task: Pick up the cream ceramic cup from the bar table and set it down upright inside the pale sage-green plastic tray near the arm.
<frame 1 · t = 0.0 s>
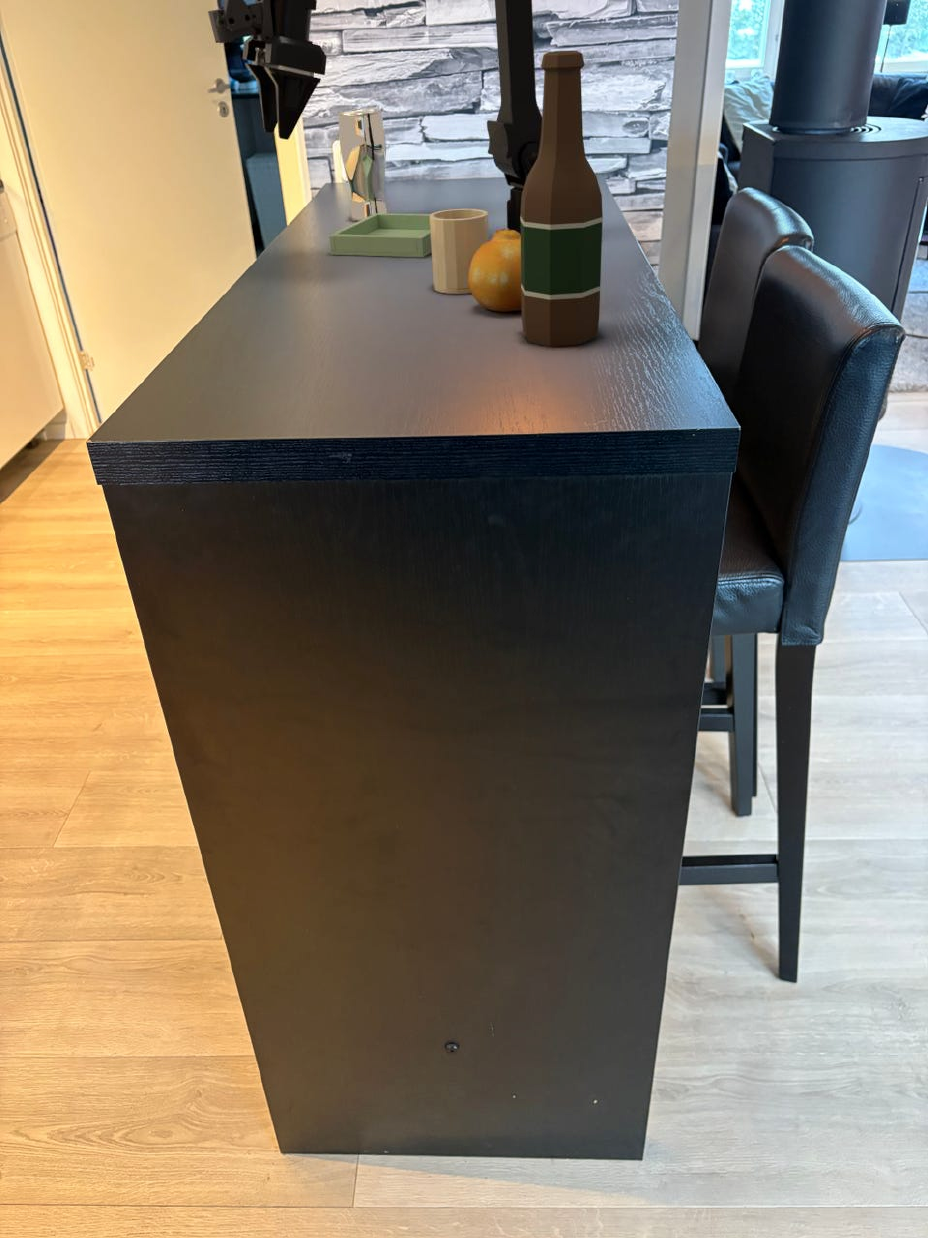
hand: (275, 135, 113), 15 cm above the table, tool pointing down, fingers open, 9 cm apart
cup: (461, 286, 110), on the table
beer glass: (370, 219, 148), on the table
tray: (398, 243, 131), on the table
fruit: (508, 308, 101), on the table
beer bottle: (559, 337, 92), on the table
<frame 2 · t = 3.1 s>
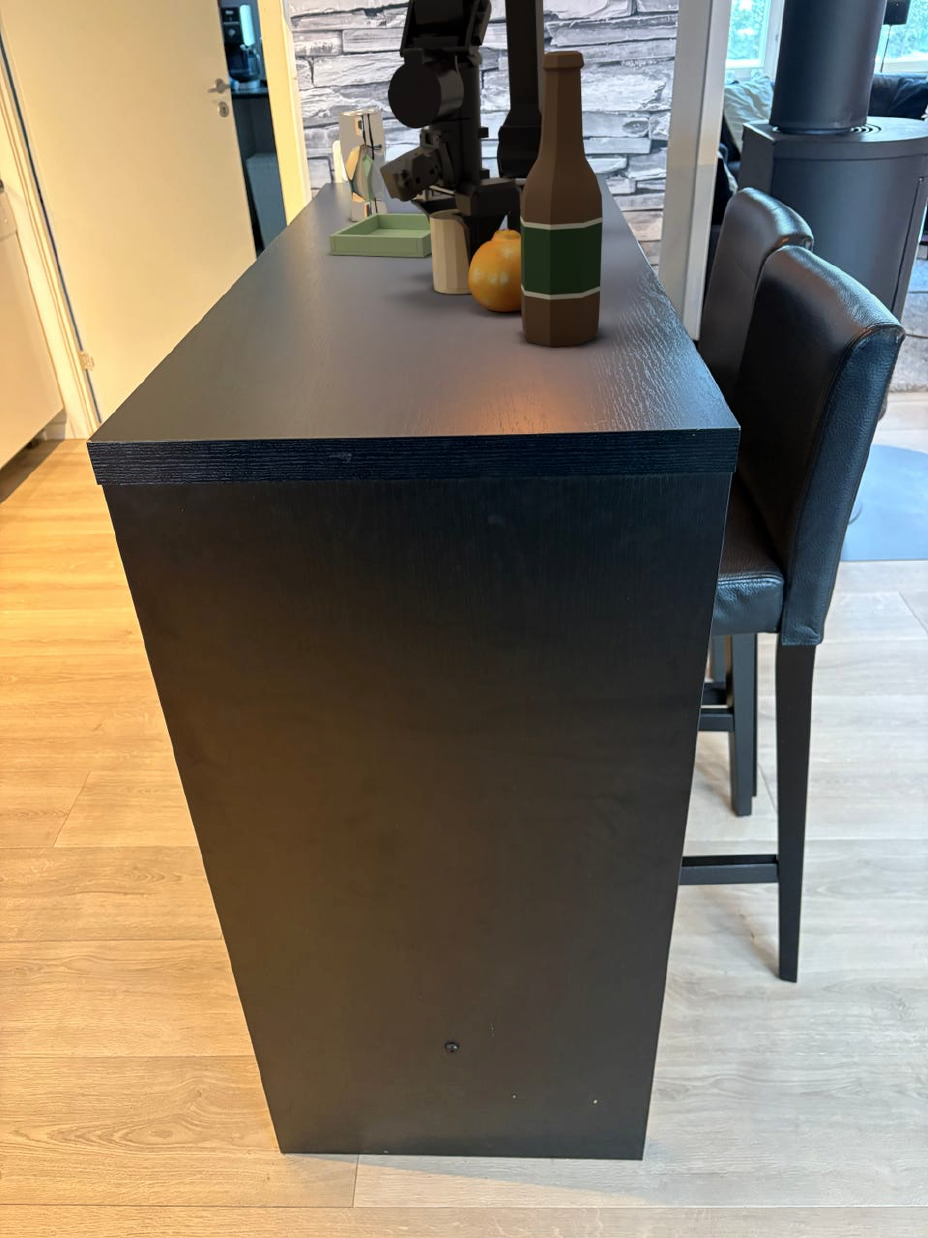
hand: (461, 268, 108), 2 cm above the table, tool pointing down, fingers closed on cup, 6 cm apart
cup: (461, 286, 110), on the table, touching gripper
everything else where it was.
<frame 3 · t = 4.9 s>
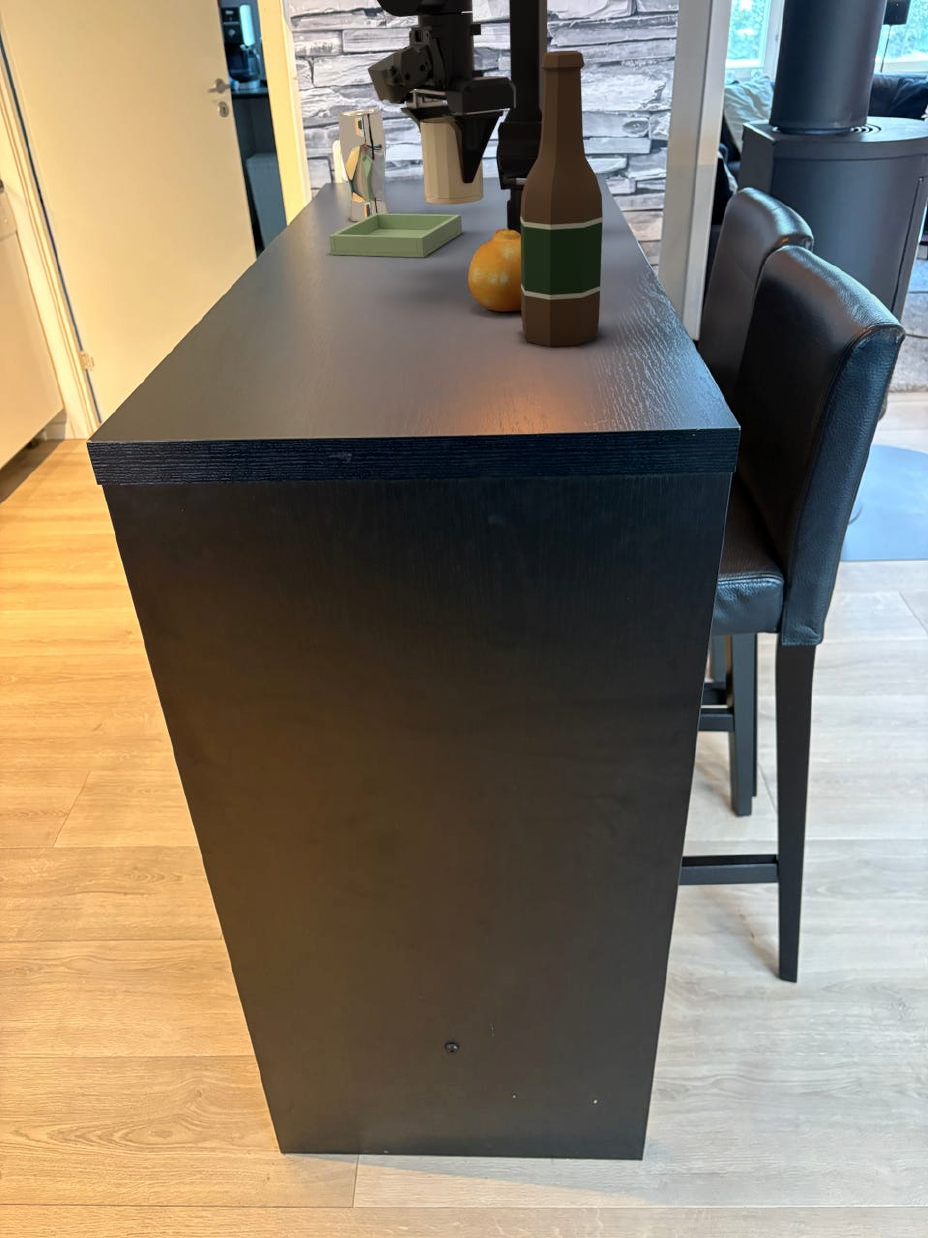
hand: (453, 179, 104), 11 cm above the table, tool pointing down, fingers closed on cup, 6 cm apart
cup: (454, 198, 106), point 9 cm above the table, touching gripper
everything else where it was.
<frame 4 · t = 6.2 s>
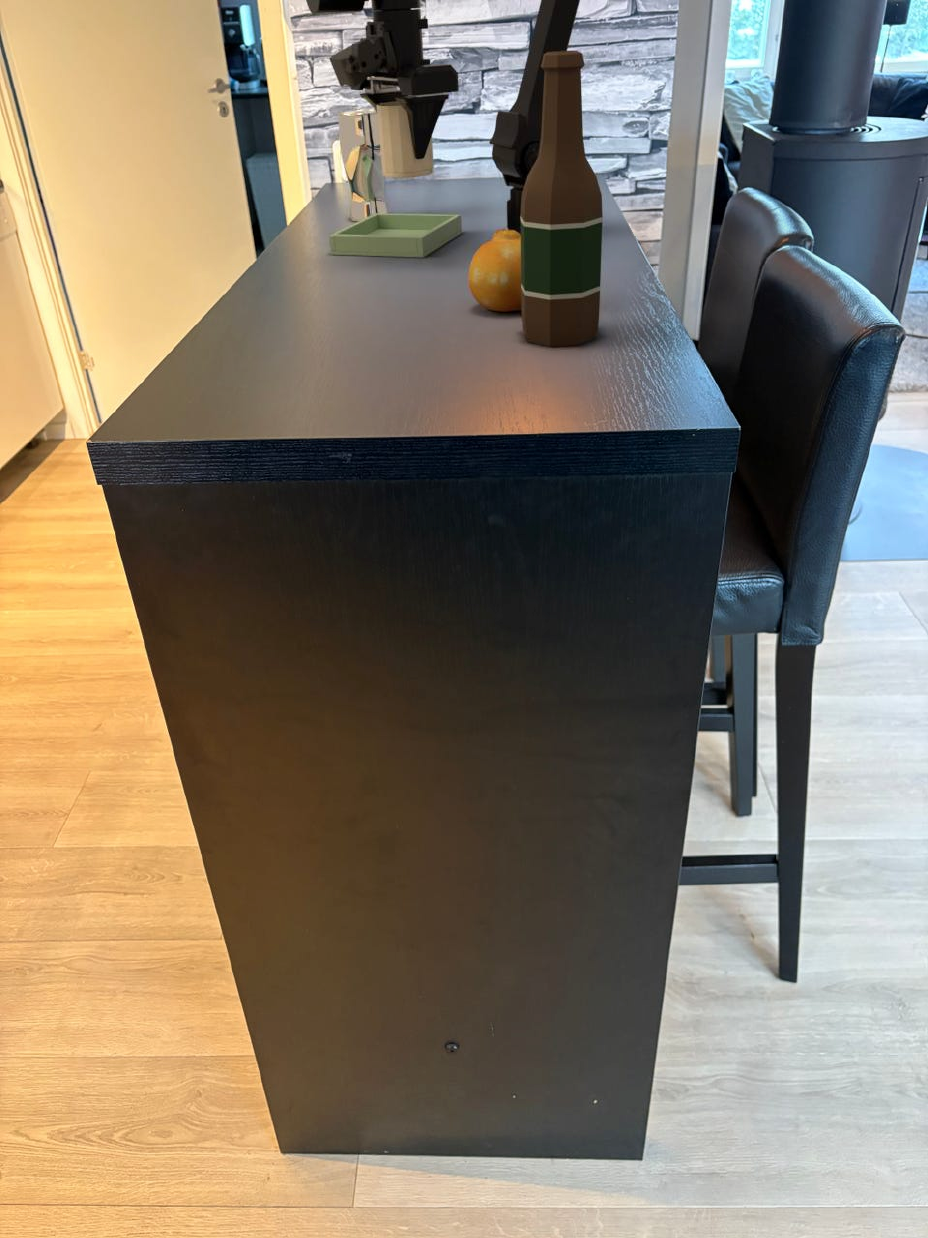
hand: (407, 156, 119), 12 cm above the table, tool pointing down, fingers closed on cup, 6 cm apart
cup: (408, 173, 120), point 10 cm above the table, touching gripper
everything else where it was.
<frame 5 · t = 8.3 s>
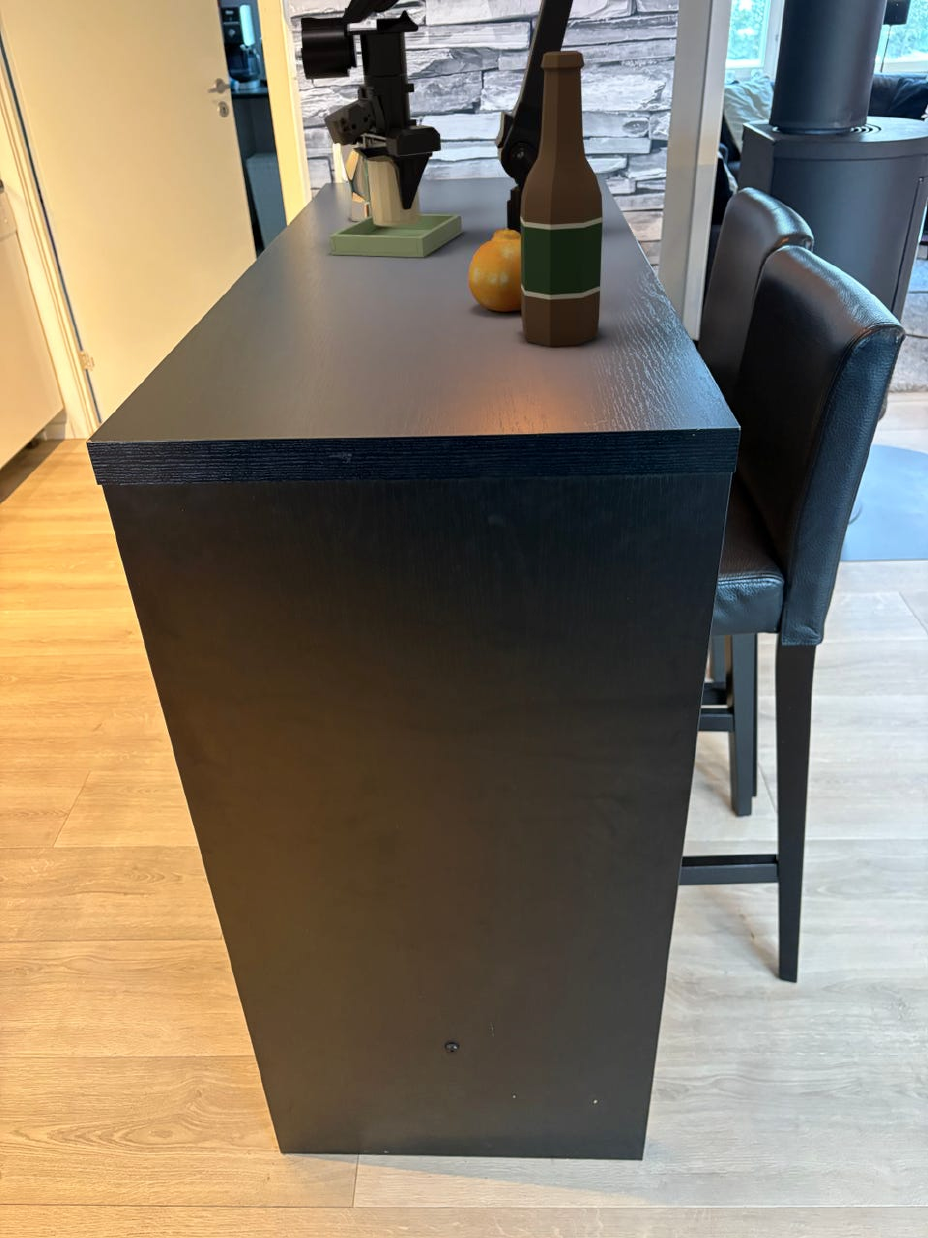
hand: (396, 205, 129), 5 cm above the table, tool pointing down, fingers closed on cup, 6 cm apart
cup: (396, 221, 130), point 3 cm above the table, touching gripper
everything else where it was.
when the fingers open (2 cm above the table, at t = 9.6 s): cup stays where it is, resting on tray.
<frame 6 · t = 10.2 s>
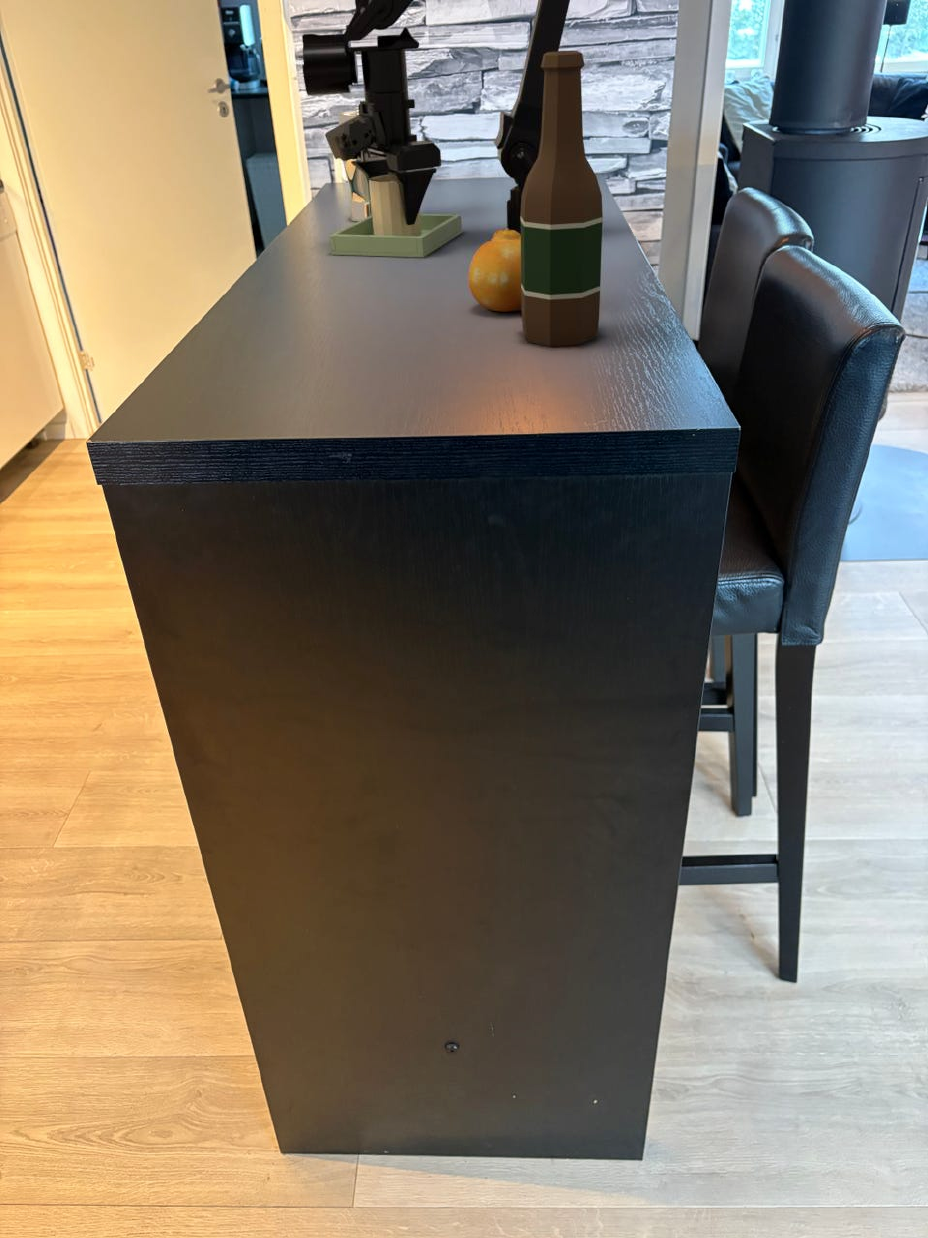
hand: (396, 219, 130), 3 cm above the table, tool pointing down, fingers open, 9 cm apart
cup: (398, 239, 131), resting on tray
everything else where it was.
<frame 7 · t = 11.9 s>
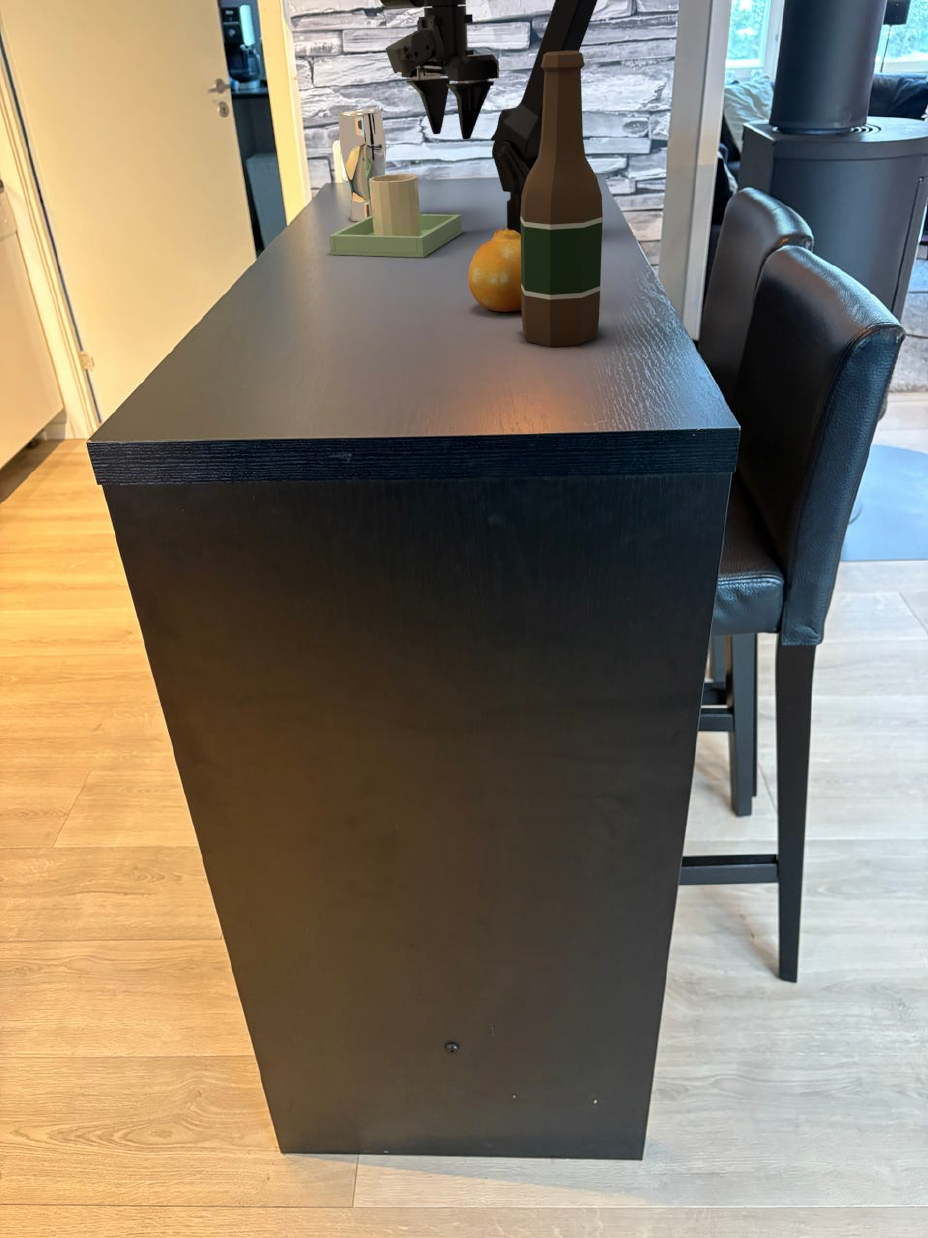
hand: (451, 136, 134), 12 cm above the table, tool pointing down, fingers open, 9 cm apart
nothing on the table moved.
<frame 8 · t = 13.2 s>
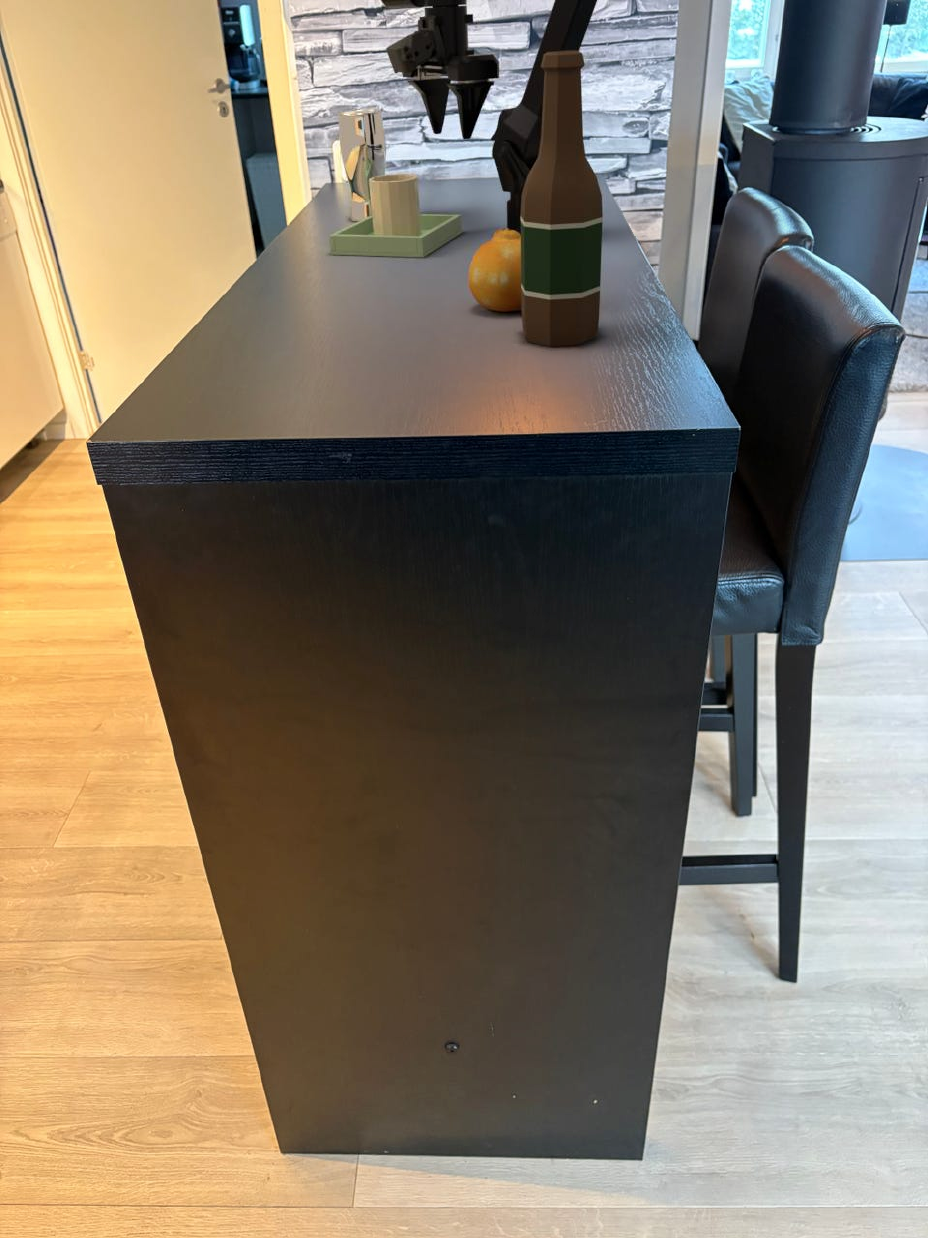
hand: (451, 136, 134), 12 cm above the table, tool pointing down, fingers open, 9 cm apart
nothing on the table moved.
at the end: cup inside the target area in the tray (0.1 cm from its centre), point 0.5 cm above the tray's base; cup tilted 0°; the gripper is holding nothing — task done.
